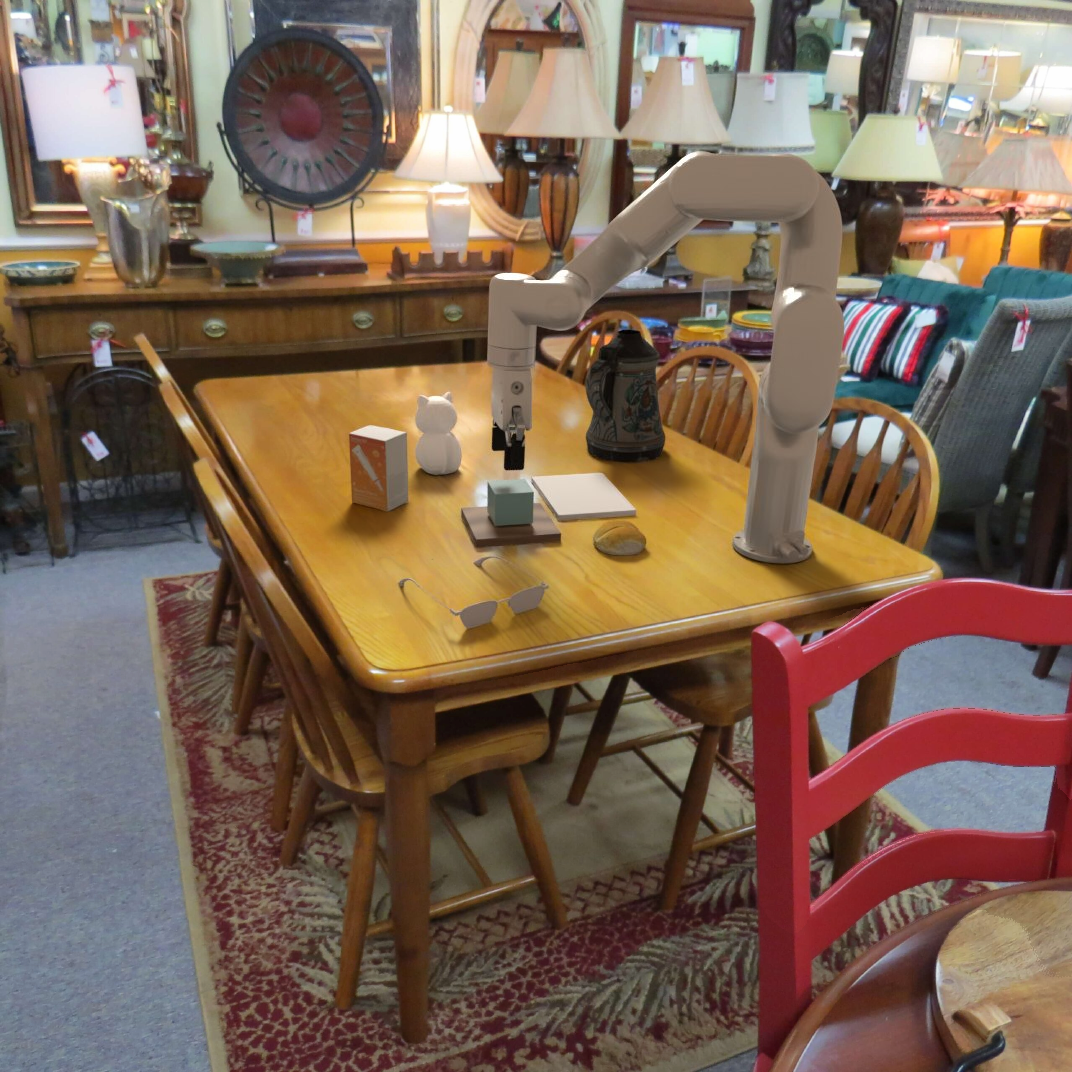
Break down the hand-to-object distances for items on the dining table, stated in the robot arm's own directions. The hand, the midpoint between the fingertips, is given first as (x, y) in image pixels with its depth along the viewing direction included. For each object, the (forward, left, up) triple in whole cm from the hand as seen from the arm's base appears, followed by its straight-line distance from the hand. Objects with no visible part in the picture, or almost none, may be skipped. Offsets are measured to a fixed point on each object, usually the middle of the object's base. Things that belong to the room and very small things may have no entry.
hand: (507, 459), depth 160 cm
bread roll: (-10, -17, -13) cm, 23 cm away
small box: (+16, +19, -12) cm, 28 cm away
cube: (0, -1, -10) cm, 10 cm away
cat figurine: (+31, +6, -12) cm, 34 cm away
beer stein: (+36, -33, -12) cm, 50 cm away
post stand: (0, -1, -12) cm, 12 cm away
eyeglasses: (-23, +10, -13) cm, 29 cm away
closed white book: (+12, -17, -12) cm, 24 cm away
